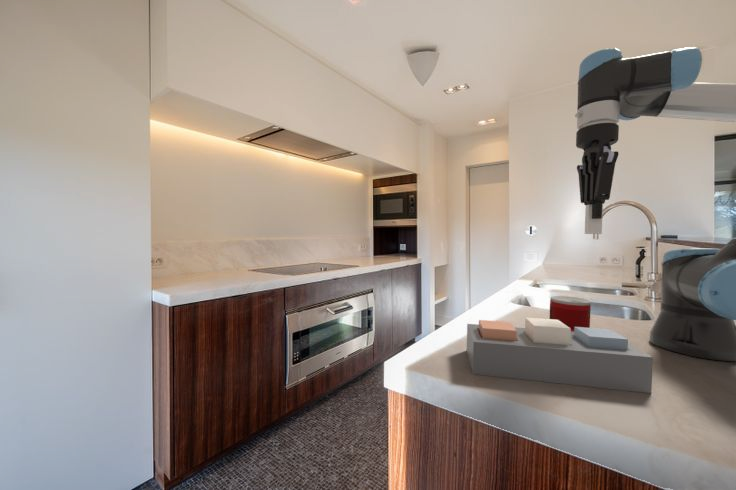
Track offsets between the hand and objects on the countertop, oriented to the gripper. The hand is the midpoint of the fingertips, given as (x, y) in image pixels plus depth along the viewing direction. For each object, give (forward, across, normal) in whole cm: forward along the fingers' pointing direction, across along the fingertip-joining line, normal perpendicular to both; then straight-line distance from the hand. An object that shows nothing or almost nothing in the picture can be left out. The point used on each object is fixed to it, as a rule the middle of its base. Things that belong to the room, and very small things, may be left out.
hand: (593, 233), depth 68 cm
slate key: (+24, +13, -4) cm, 27 cm away
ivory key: (+22, +13, -13) cm, 29 cm away
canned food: (+27, -3, -3) cm, 27 cm away
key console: (+26, +13, -13) cm, 32 cm away
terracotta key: (+24, +13, -22) cm, 35 cm away
